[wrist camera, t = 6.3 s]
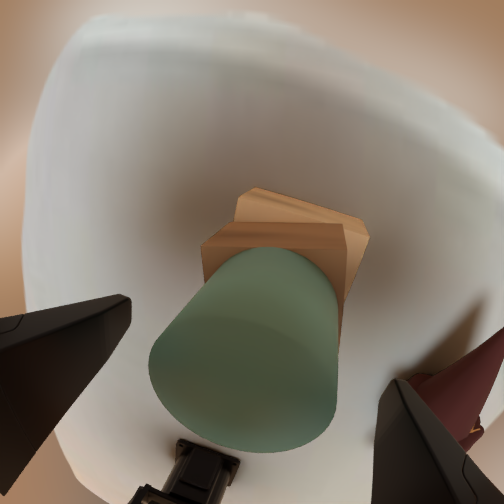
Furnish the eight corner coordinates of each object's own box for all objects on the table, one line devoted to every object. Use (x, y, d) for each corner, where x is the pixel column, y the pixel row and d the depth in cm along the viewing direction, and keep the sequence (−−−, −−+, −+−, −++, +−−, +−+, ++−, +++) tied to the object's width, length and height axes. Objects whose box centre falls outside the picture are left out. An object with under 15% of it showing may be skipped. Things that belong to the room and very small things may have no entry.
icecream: (468, 339, 10) (329, 484, 17) (563, 387, 8) (409, 512, 14) (454, 276, 16) (355, 421, 23) (534, 319, 13) (422, 448, 20)
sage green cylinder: (312, 375, 12) (297, 467, 8) (200, 339, 12) (148, 415, 8) (358, 271, 10) (372, 356, 6) (220, 229, 11) (152, 285, 6)
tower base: (326, 311, 18) (325, 345, 15) (232, 281, 19) (213, 309, 16) (361, 218, 16) (369, 237, 13) (256, 186, 17) (238, 196, 14)
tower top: (336, 324, 15) (336, 370, 11) (237, 318, 16) (215, 359, 13) (342, 223, 13) (347, 249, 10) (229, 222, 14) (200, 246, 11)
